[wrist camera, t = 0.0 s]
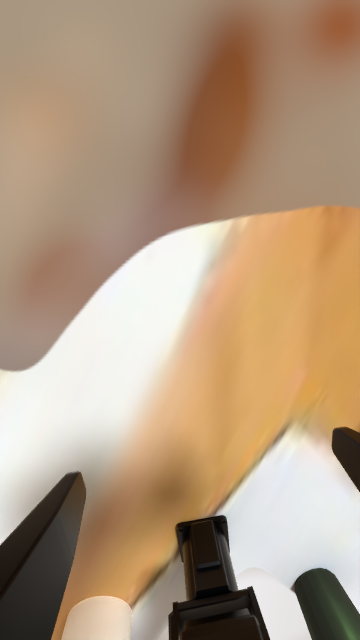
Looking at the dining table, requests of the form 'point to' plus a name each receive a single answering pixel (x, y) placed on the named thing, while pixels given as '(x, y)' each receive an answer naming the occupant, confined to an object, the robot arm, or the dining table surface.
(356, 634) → the potion bottle
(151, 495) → the dining table surface
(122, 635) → the white cutaway cylinder
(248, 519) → the dining table surface
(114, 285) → the dining table surface
